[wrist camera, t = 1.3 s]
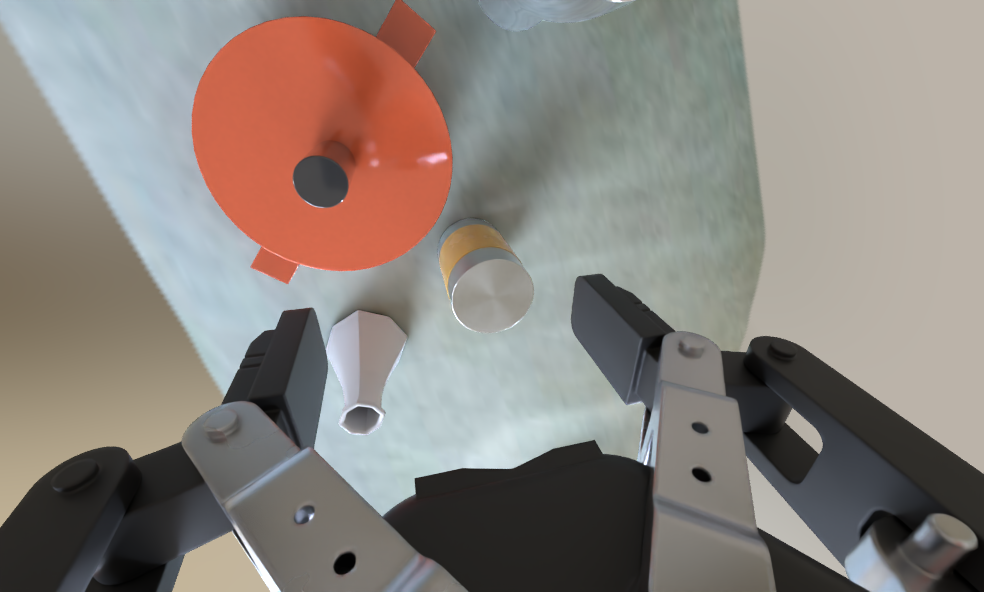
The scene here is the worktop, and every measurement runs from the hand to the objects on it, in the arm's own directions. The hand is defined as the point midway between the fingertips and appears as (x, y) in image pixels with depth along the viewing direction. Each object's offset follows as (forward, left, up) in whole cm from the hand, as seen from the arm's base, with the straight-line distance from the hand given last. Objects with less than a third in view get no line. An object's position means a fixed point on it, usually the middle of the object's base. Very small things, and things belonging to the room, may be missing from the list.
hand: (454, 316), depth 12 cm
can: (+8, -3, -22) cm, 24 cm away
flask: (+5, -16, -22) cm, 28 cm away
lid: (-5, -1, -15) cm, 16 cm away
